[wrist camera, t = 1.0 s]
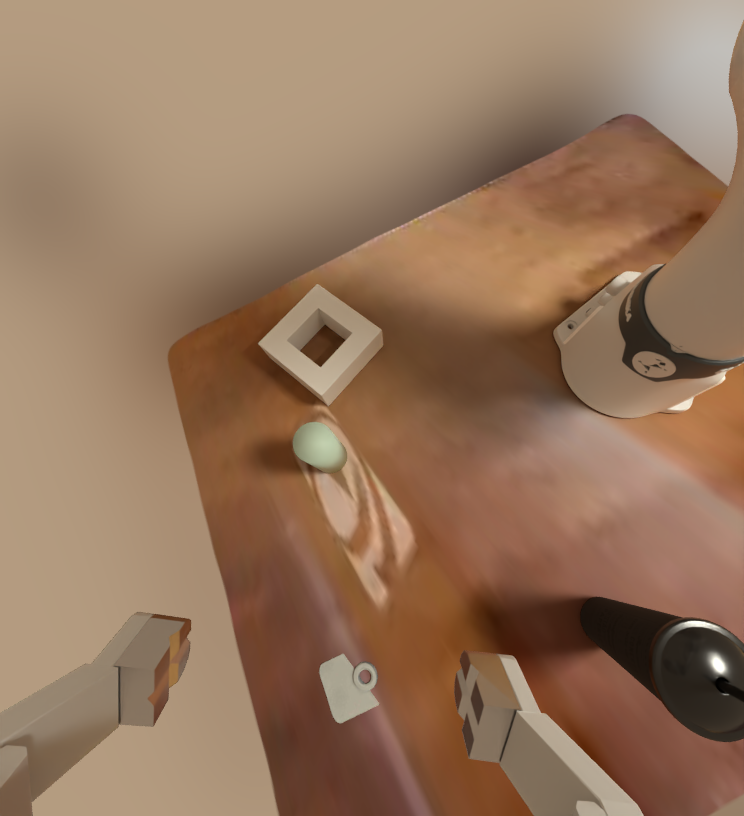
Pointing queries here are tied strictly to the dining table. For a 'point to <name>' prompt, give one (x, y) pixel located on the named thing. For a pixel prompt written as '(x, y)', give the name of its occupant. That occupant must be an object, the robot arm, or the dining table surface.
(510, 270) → the dining table surface
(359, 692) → the mounting bracket
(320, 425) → the green dowel
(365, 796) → the dining table surface
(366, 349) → the well block
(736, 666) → the drinking cup
